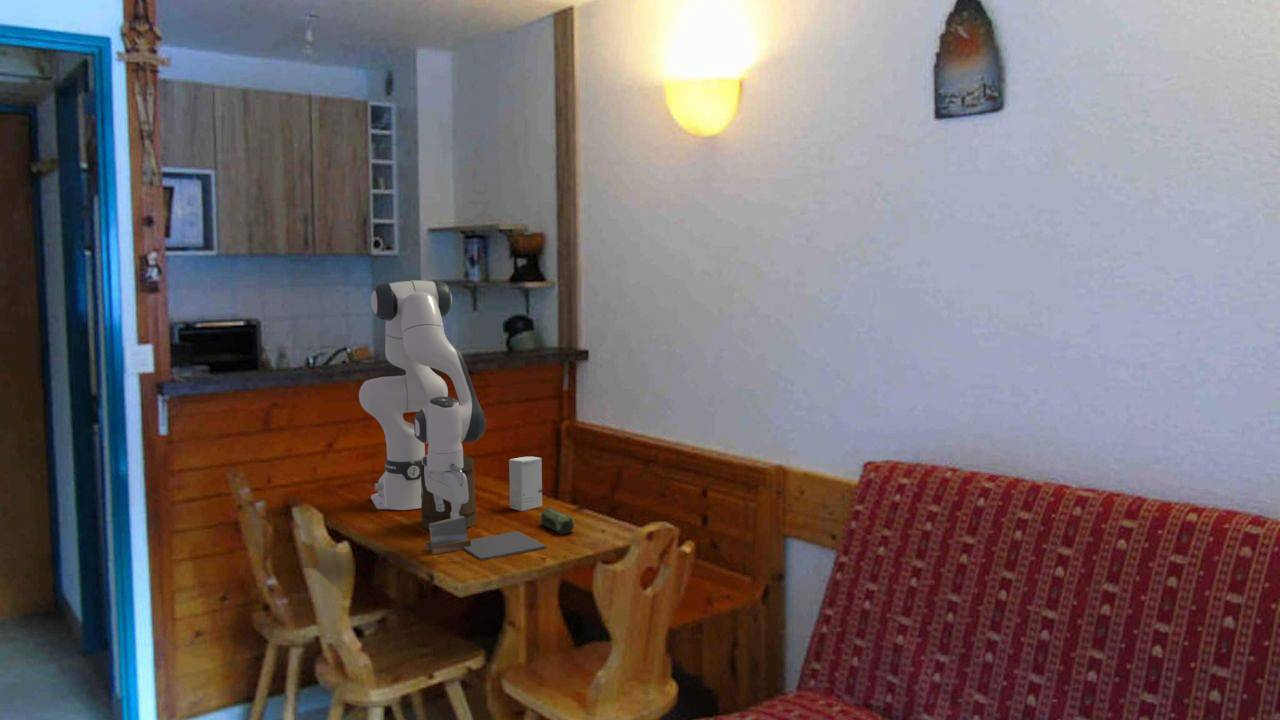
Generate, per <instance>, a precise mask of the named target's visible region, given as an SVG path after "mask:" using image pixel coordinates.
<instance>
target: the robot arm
mask: <svg viewBox="0 0 1280 720" xmlns="http://www.w3.org/2000/svg"><path fill="white" fill-rule="evenodd" d="M370 296H371V298H370V305H371V310H372V311H373V314H374V316H375V317H377V318H378V319H379V320H382V321H385V330H384V331H385V335H384V336H385V337H384V338H385V341H384V343H385V347H384V348H385V350H384V351H385V353H384V354H385V357H386V360H387V361H388V362H389V363H390V364H391V365H393V366H395V367H397V368H399V369H402V370H404V371H405V374H403V375H394V376H393V375H391V376H379V377H376V378H371V379H368V380H365V381H364V382H363V383H362V385H361V386H360V388H359V392H358V400H359V403H360V406H361V407H362V409H363V410H364V411H365V412H367V413H368V414H370V415H371V416H372V417H373V418H375V420H377V422H378V423H379V424H380V426H381V428H382V431H383V432H384V437H385V444H386V459H385V463H384V470H385V472H383V474H382V475H381V476H380V478H379V479H378V481H377V483H374V490H375V491H376V492H378V493H374V494H371V496H370V500H371V501H372V503H373V505H374V506H375V508H376V509H377V510H392V511H408V510H417V509H421V461H422V464H423V465H425V466H424V477H425V485H426V489H427V491H429V492H431V493H433V496H434V500H435V504H436V510H437V511H439V512H442V511H444V510H445V508H444V507H445V506H444V504H443V499H445V500H447V501H449V502H451V506H452V511H451V512H450V517H451V518H452V519H454V520H455V519H459V511H460V508H461V504H466V503H467V502H468V499H469V495H468V484H467V478H466V475H465V474H464V473H463V472H462V471H461V469H462V468H463V456H464V447H463V443H475V442H476V441H478V440H479V439H480V438H481V437H482V436H483V435H484V434H485V432H486V428H487V424H486V422H487V421H486V417H485V414H484V411H483V409H482V406H481V405H480V403H479V402H480V401H478V397H477V395H476V392H475V389H474V385H473V384H472V380H471V378H470V374H469V372H468V369H467V368H468V367H467V366H466V363H465V360H464V358H463V355H462V354H461V353H462V352H461V351H460V350H459V349H458V348H457V347H455V346H453V345H452V344H451V343H450V341H449V340H448V338H447V336H446V333H445V327H444V322H443V317H445V316H447V315H448V314H449V312H450V311H451V306H452V303H453V298H452V293H451V290H450V287H449V286H448V285H447V283H446V282H444V281H440V280H418V279H417V280H413V279H412V280H405V281H395V282H391V283H389V282H383V283H379V284H376V285H375V286H374V288H373V290H372V293H371V295H370ZM432 369H435V370H438V371H439V372H442V373H444V374H446V375H447V376H448V377H449V378H450V379H451V381H452V383H453V386H454V389H455V393H456V396H457V398H458V399H456V398H453V397H450V396H449V390H448V386H447V385H448V384H447V383H446V381H445V380H444V379H443V378H442V377H441V375H438V374H437V373H435V371H433V370H432ZM414 412H417V413H416V414H415V415H414V417H413V423H411V422H409V421H406V420H405V419H404V414H405V413H406V414H407V413H414ZM425 444H427V445H428V447H427V454H426V449H425V448H426V447H425V446H426V445H425Z"/></svg>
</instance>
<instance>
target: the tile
mask: <svg viewBox="0 0 1280 720" xmlns="http://www.w3.org/2000/svg"><path fill="white" fill-rule="evenodd" d="M429 528H430V530H429V535H430V541H431V545H437V544H442V543H448V542H454V541H459V540H465V539H468V534H467V528H466V523H465V517H463V516H459V519H455V520H454V519H452V518H450V519H446V520H442V521H439V522H435V523H431V524H429Z"/></svg>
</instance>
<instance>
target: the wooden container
mask: <svg viewBox="0 0 1280 720" xmlns="http://www.w3.org/2000/svg"><path fill="white" fill-rule="evenodd" d="M474 461H475V460H474V458H472V457H470V456H465V455H463V468H462V469H461V471H462V472H463V473H464V474H465V475H466V478H467V484H468V495H469V499H468V502H467V503H466V504H461V508H460V511H459V516H463V517H465V523H466V529H468V528H471V527H474V526H475V525H476V524H477V512H476V510H477V505H476V487H475V486H476V484H475V483H476V482H475V464H474ZM424 466H425V465H423V464H422V461H421V508H420V509H421V525H422V528H424V529H425V530H428V531H430V528H429V524H431V523H435V522H439V521H442V520H446V519H450V518H451V517H450V512H451V511H452V506H451V502H449V501H447V500H445V499H443V504H444V506H445V507H444V508H445V510H444V511H442V512H439V511H437V510H436V504H435V500H434V496H433V493H431V492H429V491H427V489H426V485H425V477H424Z"/></svg>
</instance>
